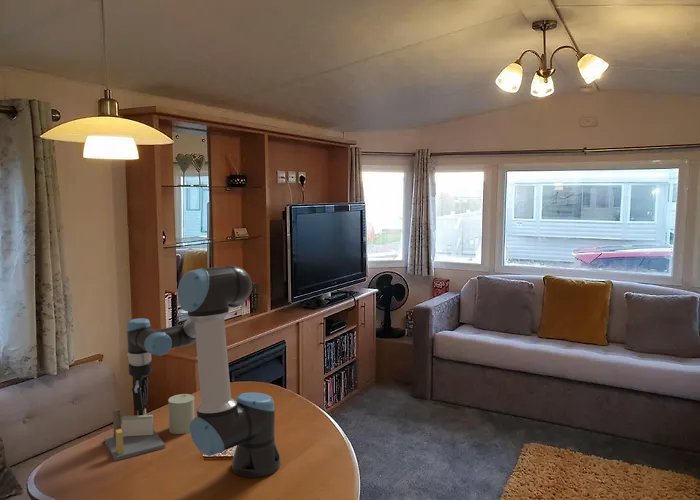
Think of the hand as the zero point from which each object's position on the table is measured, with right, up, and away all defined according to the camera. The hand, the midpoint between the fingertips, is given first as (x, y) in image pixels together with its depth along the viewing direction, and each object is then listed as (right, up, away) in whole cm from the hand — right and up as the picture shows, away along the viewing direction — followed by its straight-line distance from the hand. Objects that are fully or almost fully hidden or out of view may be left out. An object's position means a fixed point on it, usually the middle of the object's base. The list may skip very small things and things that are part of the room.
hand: (142, 426), depth 192 cm
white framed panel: (0, -2, -3) cm, 4 cm away
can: (+13, -3, +5) cm, 14 cm away
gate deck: (0, -4, -7) cm, 8 cm away
